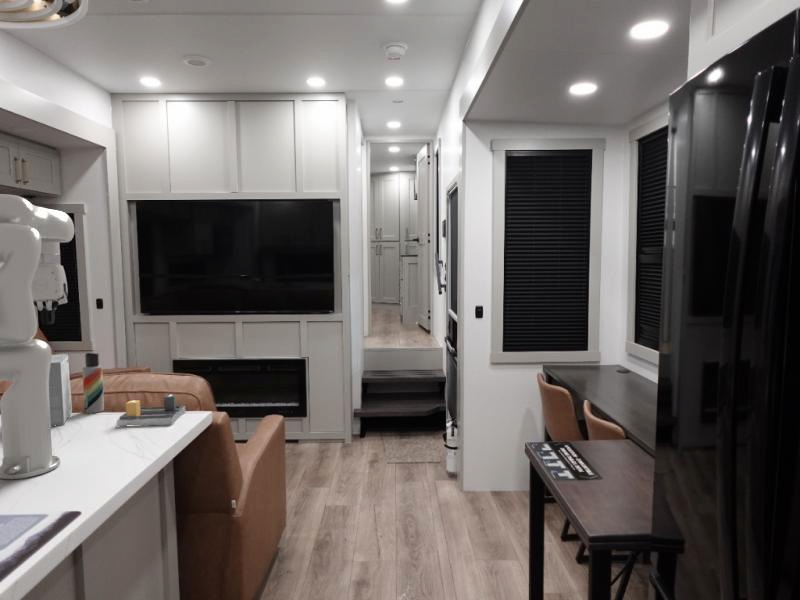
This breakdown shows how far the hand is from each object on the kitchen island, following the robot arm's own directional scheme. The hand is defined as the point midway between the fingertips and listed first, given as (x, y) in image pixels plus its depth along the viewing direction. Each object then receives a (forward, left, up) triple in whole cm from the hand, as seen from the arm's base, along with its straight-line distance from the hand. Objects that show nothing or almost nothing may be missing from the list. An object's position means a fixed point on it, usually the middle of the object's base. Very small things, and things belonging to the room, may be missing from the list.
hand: (48, 323), depth 151 cm
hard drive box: (+12, +6, -32) cm, 35 cm away
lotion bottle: (+21, -2, -32) cm, 39 cm away
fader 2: (+12, -30, -30) cm, 44 cm away
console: (+9, -25, -32) cm, 42 cm away
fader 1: (+6, -20, -30) cm, 37 cm away
